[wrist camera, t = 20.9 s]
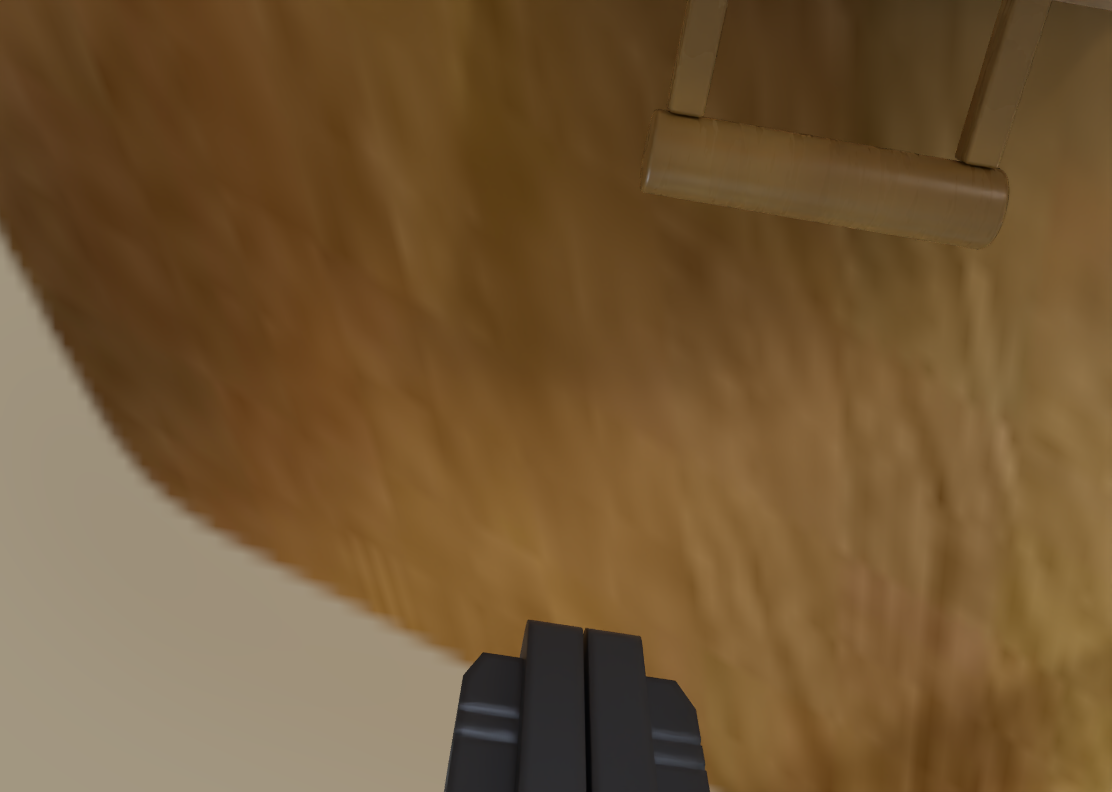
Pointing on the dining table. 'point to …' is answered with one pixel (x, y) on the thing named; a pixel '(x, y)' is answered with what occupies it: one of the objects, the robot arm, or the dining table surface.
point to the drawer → (844, 147)
